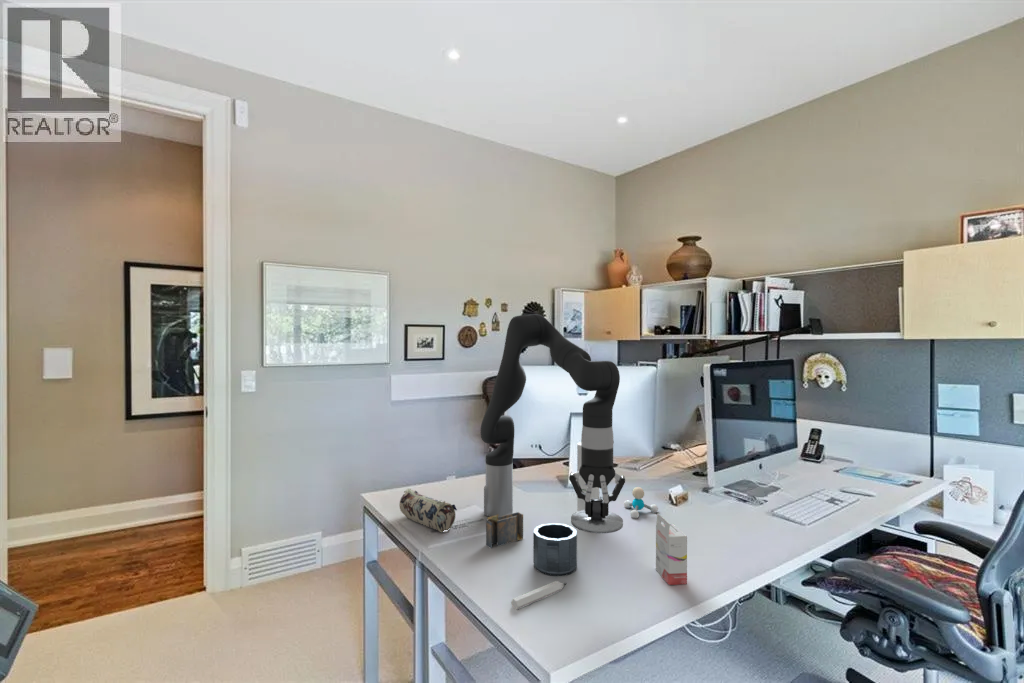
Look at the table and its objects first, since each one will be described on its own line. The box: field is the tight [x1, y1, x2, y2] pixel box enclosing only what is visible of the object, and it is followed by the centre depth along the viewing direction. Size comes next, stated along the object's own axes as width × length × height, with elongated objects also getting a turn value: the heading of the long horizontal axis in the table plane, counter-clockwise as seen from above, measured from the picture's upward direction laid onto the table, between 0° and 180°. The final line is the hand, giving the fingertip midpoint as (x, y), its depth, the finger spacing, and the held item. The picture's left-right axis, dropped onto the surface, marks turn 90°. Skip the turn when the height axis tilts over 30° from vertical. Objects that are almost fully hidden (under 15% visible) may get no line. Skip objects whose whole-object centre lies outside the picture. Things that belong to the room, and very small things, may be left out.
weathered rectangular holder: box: [485, 511, 524, 549], centre depth 141 cm, size 11×3×10 cm, turn 125°
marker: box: [510, 580, 567, 610], centre depth 111 cm, size 3×2×16 cm
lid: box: [570, 497, 624, 534], centre depth 115 cm, size 12×12×6 cm
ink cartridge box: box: [655, 512, 688, 586], centre depth 120 cm, size 9×5×15 cm, turn 5°
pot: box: [532, 522, 578, 577], centre depth 126 cm, size 11×14×9 cm
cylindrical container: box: [576, 441, 600, 512], centre depth 158 cm, size 7×7×25 cm
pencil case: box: [399, 488, 458, 533], centre depth 155 cm, size 22×8×10 cm, turn 46°
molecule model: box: [623, 486, 659, 519], centre depth 166 cm, size 12×12×9 cm
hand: (596, 516), depth 115 cm, fingers closed on lid, 3 cm apart
